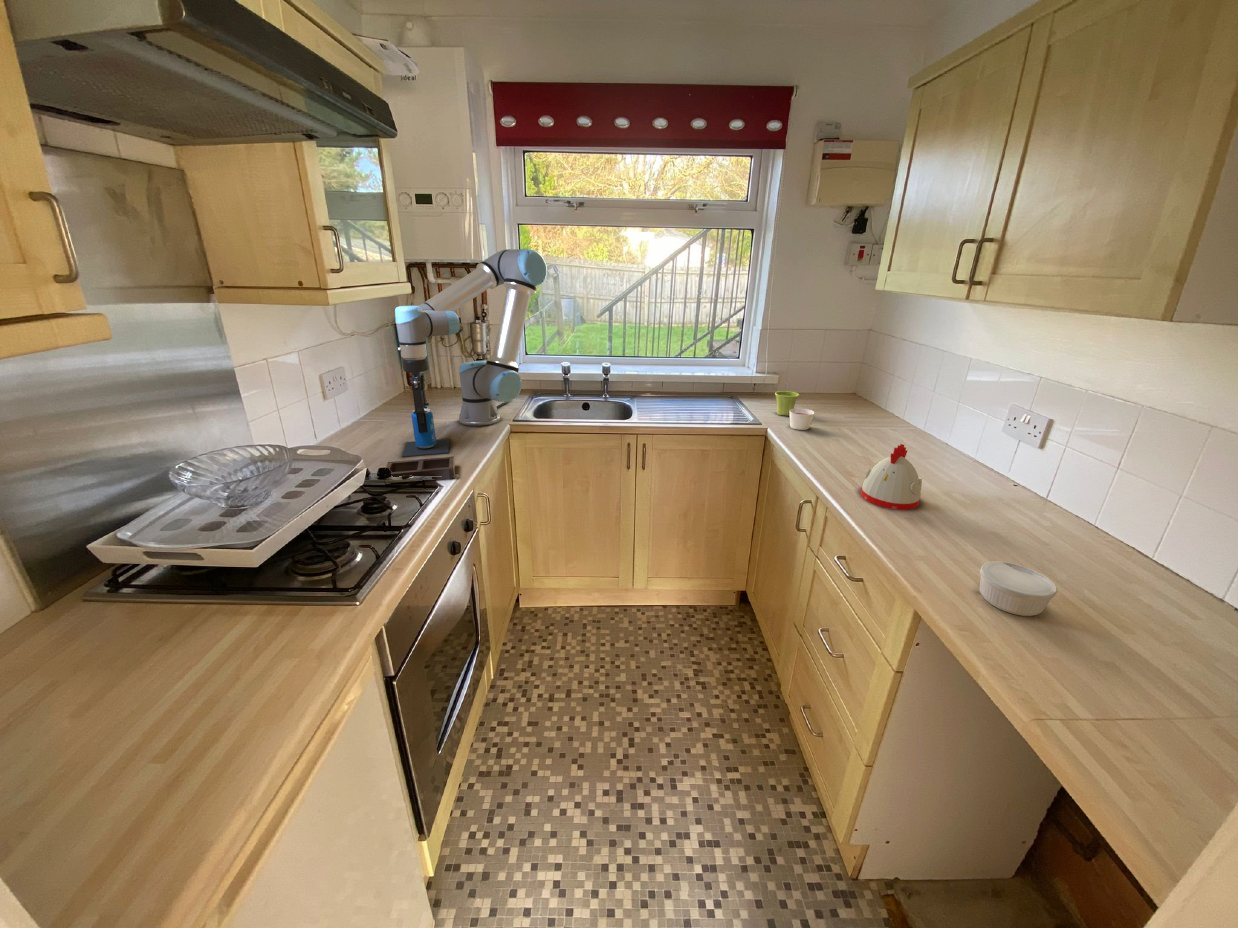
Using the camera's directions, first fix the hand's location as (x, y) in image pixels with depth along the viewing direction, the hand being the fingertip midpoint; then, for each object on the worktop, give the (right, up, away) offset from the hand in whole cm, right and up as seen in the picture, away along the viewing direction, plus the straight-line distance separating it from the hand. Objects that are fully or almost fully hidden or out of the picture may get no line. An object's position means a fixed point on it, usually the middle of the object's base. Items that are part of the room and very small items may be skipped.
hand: (424, 428), depth 166 cm
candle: (+133, +2, +28) cm, 136 cm away
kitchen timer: (+136, -21, -30) cm, 141 cm away
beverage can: (0, -6, +2) cm, 6 cm away
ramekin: (+136, -37, -72) cm, 159 cm away
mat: (0, -6, +2) cm, 7 cm away
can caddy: (+7, -15, -19) cm, 25 cm away
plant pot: (+133, +9, +45) cm, 140 cm away
